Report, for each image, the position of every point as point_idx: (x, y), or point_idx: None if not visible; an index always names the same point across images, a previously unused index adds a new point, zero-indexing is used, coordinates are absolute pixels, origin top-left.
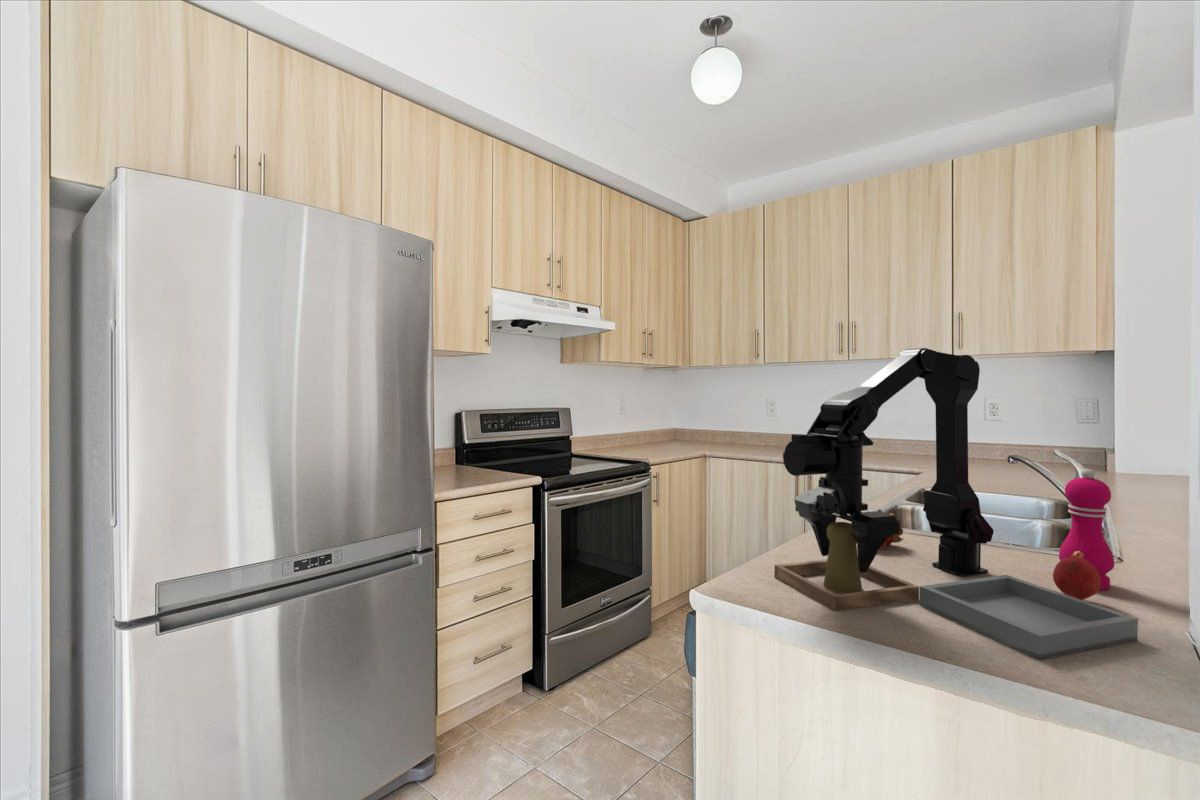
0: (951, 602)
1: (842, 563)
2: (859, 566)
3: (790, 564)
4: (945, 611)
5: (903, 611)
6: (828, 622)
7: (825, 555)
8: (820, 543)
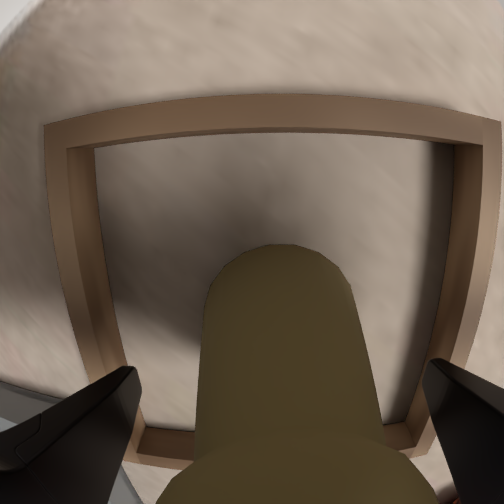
0: (4, 412)
1: (215, 352)
2: (114, 379)
3: (490, 202)
4: (28, 399)
5: (55, 340)
6: (24, 62)
7: (425, 372)
8: (469, 389)
